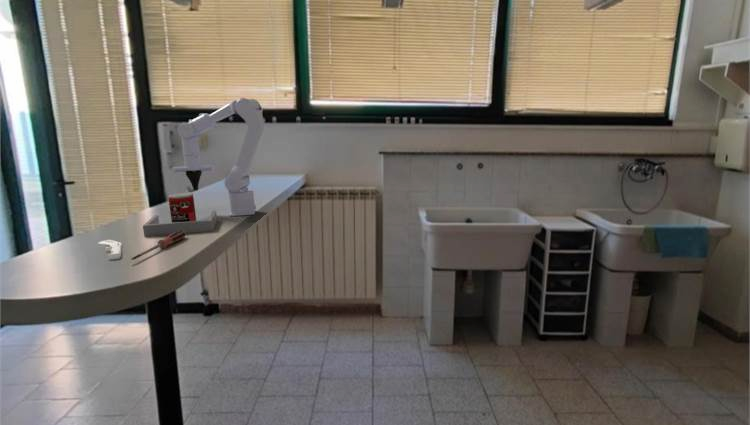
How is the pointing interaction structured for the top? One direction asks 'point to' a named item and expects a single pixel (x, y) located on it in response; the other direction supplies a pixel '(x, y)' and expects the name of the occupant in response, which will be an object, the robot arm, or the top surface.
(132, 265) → the top surface
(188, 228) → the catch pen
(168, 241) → the screwdriver
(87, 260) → the top surface
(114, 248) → the white elongated piece
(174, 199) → the canned food
